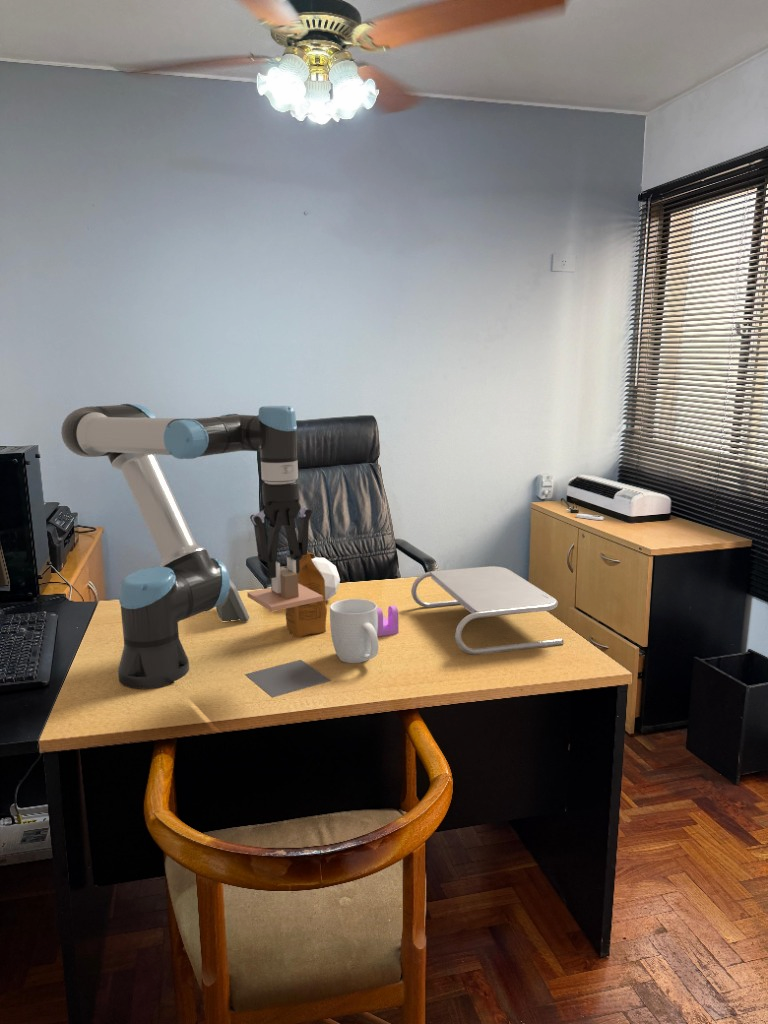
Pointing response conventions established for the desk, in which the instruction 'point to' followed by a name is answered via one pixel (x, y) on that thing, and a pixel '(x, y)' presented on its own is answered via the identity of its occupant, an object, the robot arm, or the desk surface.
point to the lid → (285, 593)
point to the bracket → (388, 622)
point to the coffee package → (312, 614)
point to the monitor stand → (489, 599)
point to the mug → (354, 629)
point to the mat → (287, 678)
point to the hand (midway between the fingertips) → (284, 589)
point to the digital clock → (232, 607)
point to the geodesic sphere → (328, 576)
